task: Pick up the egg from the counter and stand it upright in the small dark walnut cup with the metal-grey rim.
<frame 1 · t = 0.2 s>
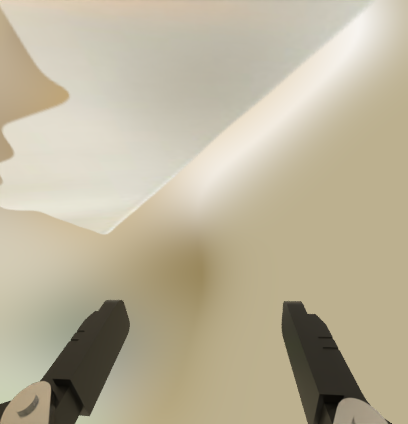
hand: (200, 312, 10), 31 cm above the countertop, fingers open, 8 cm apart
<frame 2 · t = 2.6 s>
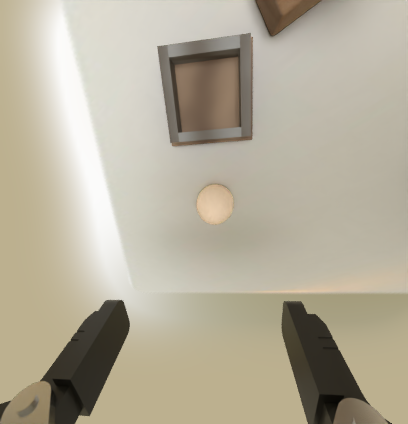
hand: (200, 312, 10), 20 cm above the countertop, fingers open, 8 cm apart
egg: (216, 195, 29), on the countertop
holder: (208, 98, 24), on the countertop
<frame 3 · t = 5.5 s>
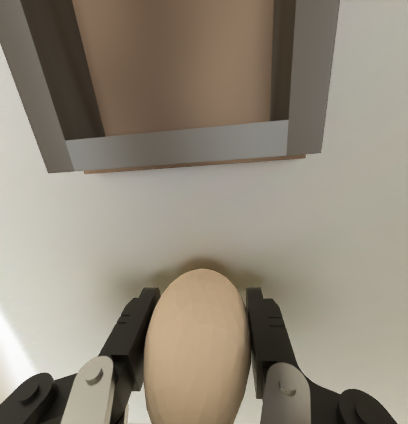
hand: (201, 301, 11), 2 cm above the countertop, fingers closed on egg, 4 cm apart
egg: (205, 277, 13), on the countertop, touching gripper
holder: (178, 36, 8), on the countertop
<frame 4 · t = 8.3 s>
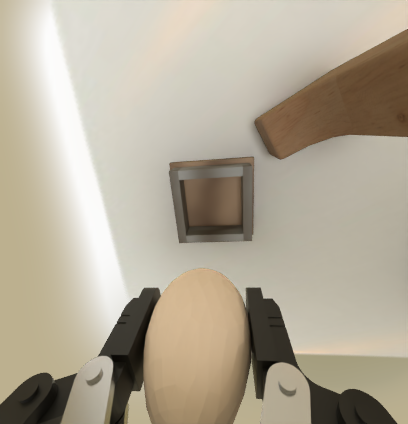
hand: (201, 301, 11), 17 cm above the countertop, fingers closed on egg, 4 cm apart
wooden block: (298, 116, 22), on the countertop
egg: (205, 277, 13), point 15 cm above the countertop, touching gripper
holder: (213, 198, 27), on the countertop
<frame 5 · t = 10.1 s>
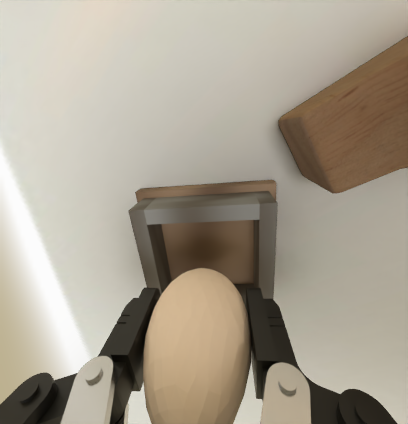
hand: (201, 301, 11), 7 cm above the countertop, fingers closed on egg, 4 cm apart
wooden block: (356, 110, 13), on the countertop
egg: (205, 277, 13), point 4 cm above the countertop, touching gripper
holder: (209, 242, 17), on the countertop
when the fingers open (4 cm above the countertop, at t = 11.5 s): egg drops 1 cm, resting on holder.
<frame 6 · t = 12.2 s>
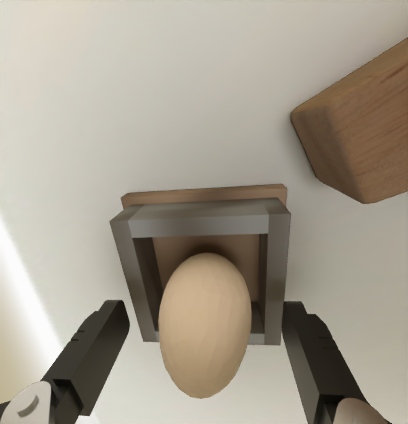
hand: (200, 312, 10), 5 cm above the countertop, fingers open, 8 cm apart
wooden block: (384, 102, 11), on the countertop
egg: (210, 262, 14), point 1 cm above the countertop, touching holder
holder: (207, 254, 15), on the countertop
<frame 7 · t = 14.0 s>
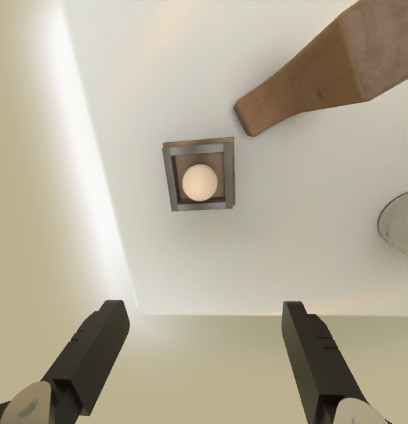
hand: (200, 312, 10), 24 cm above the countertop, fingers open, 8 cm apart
wooden block: (270, 102, 27), on the countertop
egg: (202, 176, 30), point 1 cm above the countertop, touching holder
holder: (201, 174, 31), on the countertop
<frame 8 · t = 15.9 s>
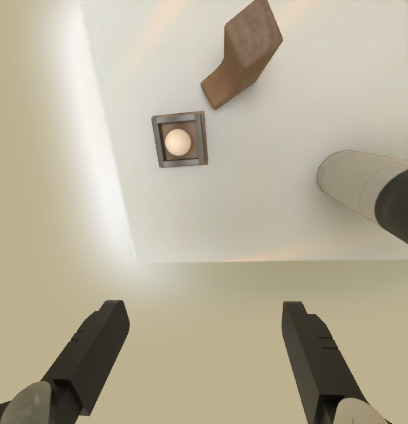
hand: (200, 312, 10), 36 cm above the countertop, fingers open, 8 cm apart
wooden block: (229, 84, 37), on the countertop
egg: (182, 141, 41), point 1 cm above the countertop, touching holder
holder: (181, 140, 42), on the countertop
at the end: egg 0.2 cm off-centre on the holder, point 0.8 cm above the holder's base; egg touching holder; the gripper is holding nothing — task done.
